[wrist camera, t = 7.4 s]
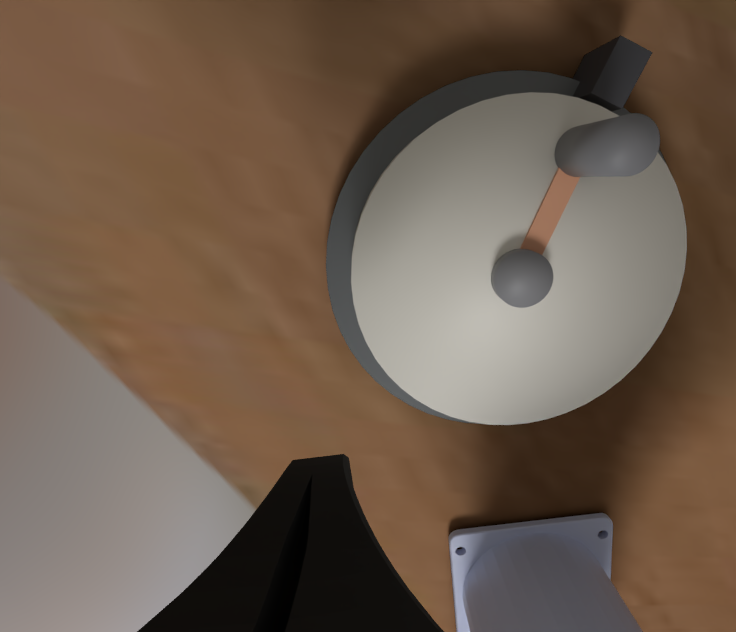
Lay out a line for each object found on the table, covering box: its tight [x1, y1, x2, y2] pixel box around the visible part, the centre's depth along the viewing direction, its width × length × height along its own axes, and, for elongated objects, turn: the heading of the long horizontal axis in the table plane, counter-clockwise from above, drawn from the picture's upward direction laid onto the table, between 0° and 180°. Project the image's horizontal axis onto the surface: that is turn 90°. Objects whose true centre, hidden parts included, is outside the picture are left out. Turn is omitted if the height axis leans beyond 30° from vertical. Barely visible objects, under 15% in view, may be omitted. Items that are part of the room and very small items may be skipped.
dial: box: [351, 92, 687, 425], centre depth 16 cm, size 12×12×4 cm
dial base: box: [326, 36, 668, 424], centre depth 18 cm, size 14×14×2 cm
